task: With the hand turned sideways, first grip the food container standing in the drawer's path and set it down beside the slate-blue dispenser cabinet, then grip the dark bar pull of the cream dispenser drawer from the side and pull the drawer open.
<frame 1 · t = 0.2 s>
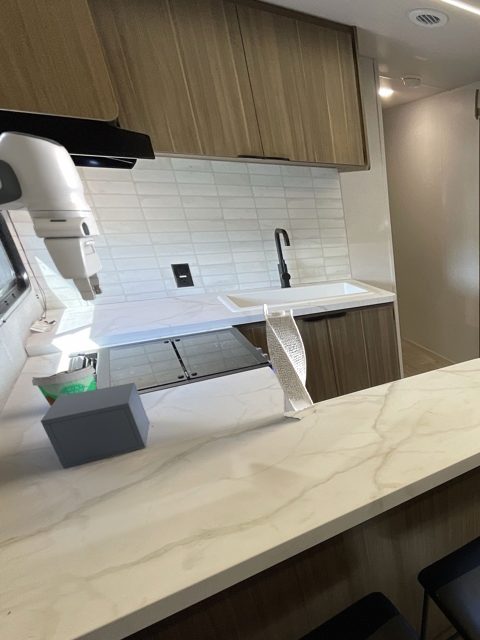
hand: (93, 296, 85), 31 cm above the countertop, tool pointing down, fingers open, 8 cm apart
food container: (83, 405, 109), on the countertop
cabinet: (110, 443, 90), on the countertop
skyscraper: (300, 414, 102), on the countertop
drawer: (104, 415, 91), point 5 cm above the countertop, slide at 0.0 cm, touching cabinet
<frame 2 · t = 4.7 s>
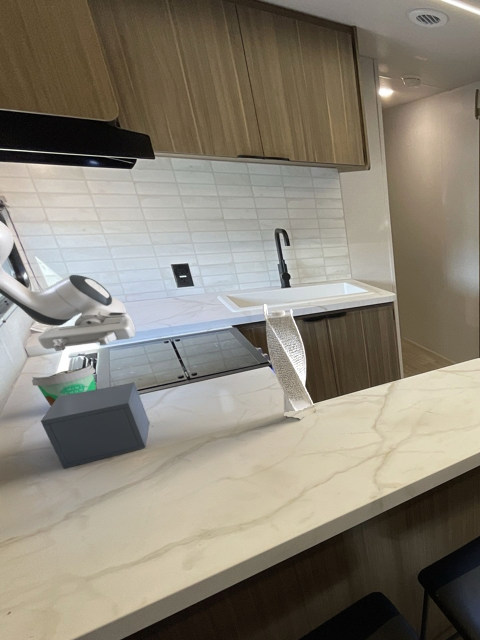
hand: (80, 345, 111), 15 cm above the countertop, tool horizontal, fingers open, 8 cm apart
nothing on the countertop moved.
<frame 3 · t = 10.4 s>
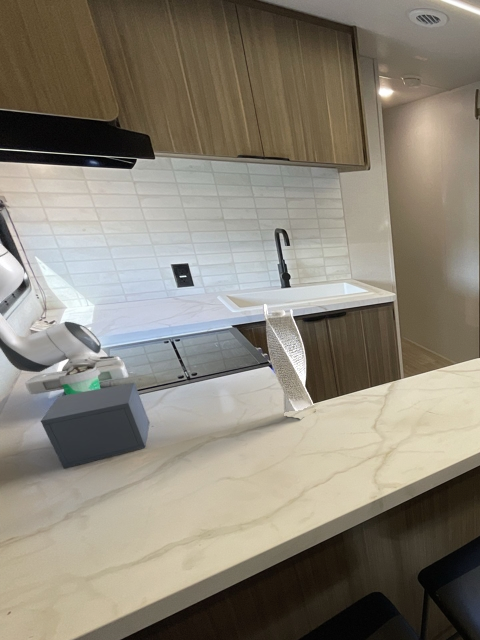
hand: (75, 385, 108), 5 cm above the countertop, tool horizontal, fingers closed on food container
food container: (93, 403, 110), on the countertop, touching gripper
everything else where it was.
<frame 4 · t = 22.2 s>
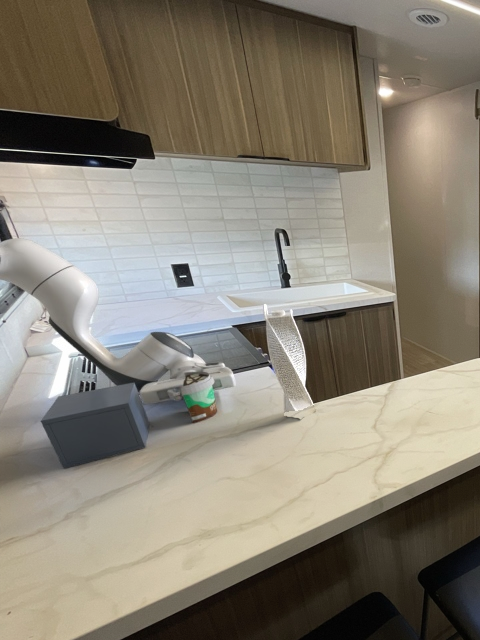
hand: (191, 394, 101), 5 cm above the countertop, tool horizontal, fingers open, 4 cm apart
food container: (208, 413, 103), on the countertop
everything else where it was.
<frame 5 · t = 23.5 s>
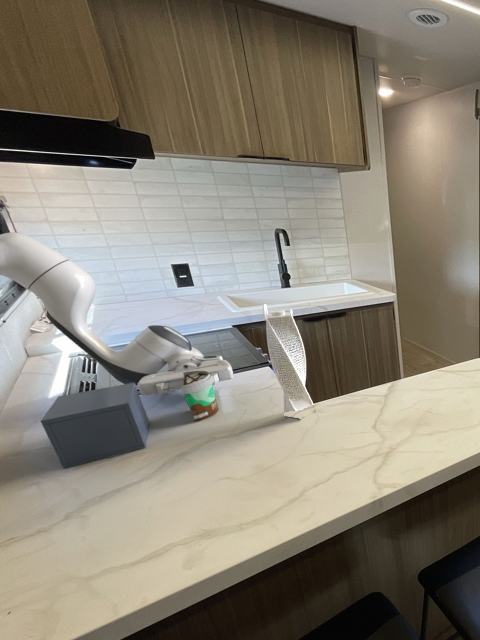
hand: (188, 386, 102), 7 cm above the countertop, tool horizontal, fingers open, 8 cm apart
food container: (210, 412, 104), on the countertop, touching gripper
everything else where it was.
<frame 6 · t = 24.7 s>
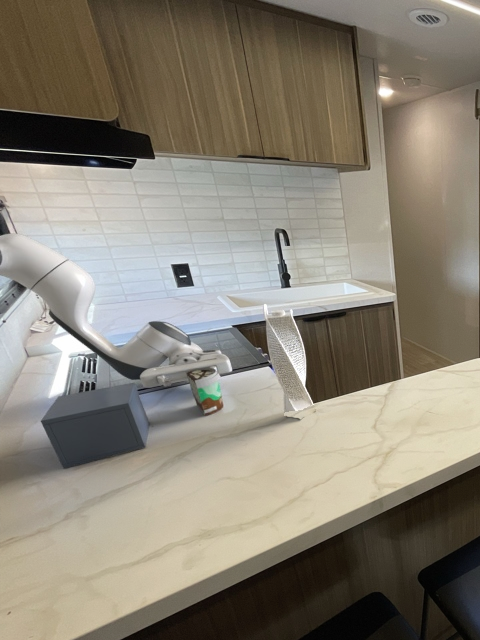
hand: (188, 379, 107), 7 cm above the countertop, tool horizontal, fingers open, 8 cm apart
food container: (214, 407, 107), on the countertop
everything else where it was.
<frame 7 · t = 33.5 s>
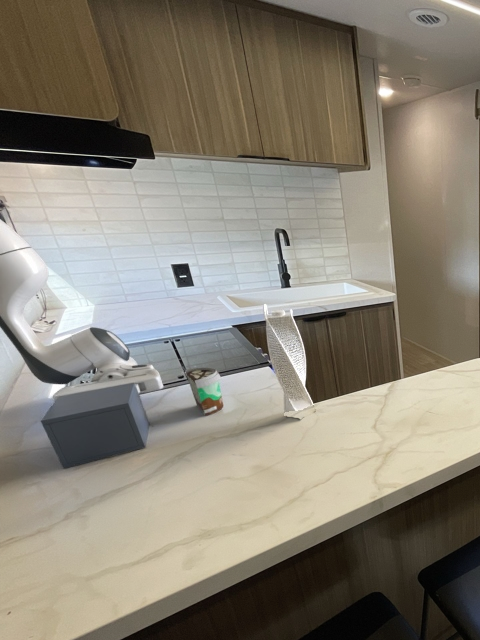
hand: (108, 398, 97), 7 cm above the countertop, tool horizontal, fingers closed on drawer, 6 cm apart
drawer: (104, 415, 91), point 5 cm above the countertop, slide at 0.0 cm, touching gripper
everything else where it was.
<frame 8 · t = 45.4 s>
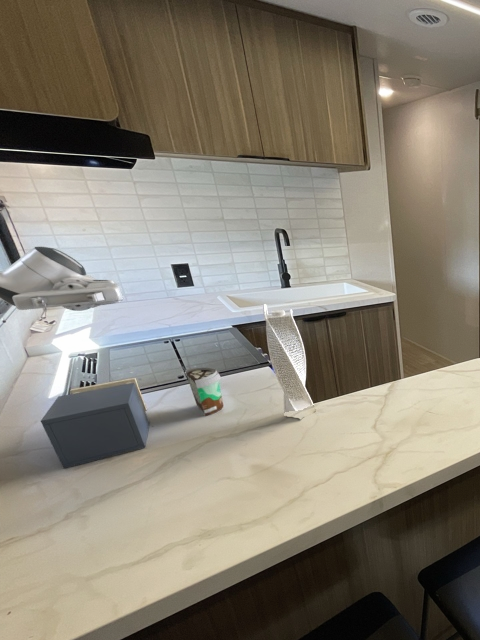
hand: (65, 301, 101), 28 cm above the countertop, tool horizontal, fingers open, 8 cm apart
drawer: (108, 405, 96), point 5 cm above the countertop, slide at 6.4 cm
everything else where it was.
at the end: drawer slide at 6.4 cm; food container inside the target area on the countertop beside the cabinet (5.0 cm from its centre), on the countertop; food container tilted 0° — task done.
